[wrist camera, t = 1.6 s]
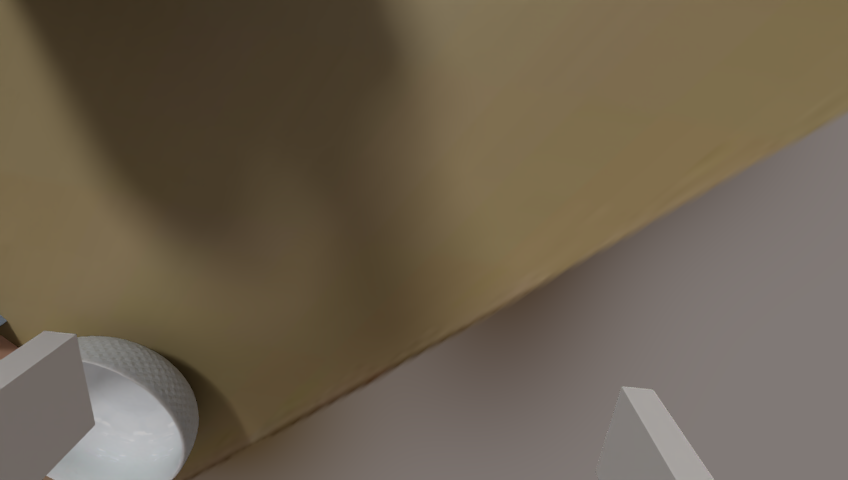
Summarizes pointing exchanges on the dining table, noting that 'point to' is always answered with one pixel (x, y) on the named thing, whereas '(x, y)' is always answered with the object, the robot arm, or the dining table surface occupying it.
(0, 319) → the slate-blue brick
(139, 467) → the cereal bowl
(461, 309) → the dining table surface
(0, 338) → the terracotta brick
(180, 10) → the dining table surface
